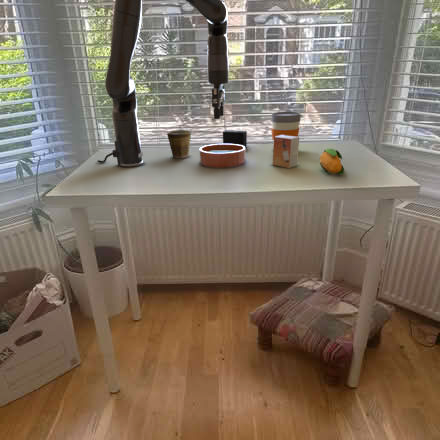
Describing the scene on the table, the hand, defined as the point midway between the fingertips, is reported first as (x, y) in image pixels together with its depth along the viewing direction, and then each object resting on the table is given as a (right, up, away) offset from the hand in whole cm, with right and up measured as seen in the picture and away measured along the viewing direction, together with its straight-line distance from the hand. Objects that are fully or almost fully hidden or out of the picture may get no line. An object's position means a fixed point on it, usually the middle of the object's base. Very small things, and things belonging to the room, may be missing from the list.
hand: (218, 117), depth 152 cm
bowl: (+2, -14, +9) cm, 17 cm away
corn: (+41, -24, -9) cm, 48 cm away
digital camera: (+8, +2, +35) cm, 36 cm away
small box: (+26, -18, +2) cm, 31 cm away
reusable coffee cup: (+29, -4, +25) cm, 38 cm away
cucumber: (+2, -14, +9) cm, 16 cm away
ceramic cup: (-17, -7, +22) cm, 29 cm away
